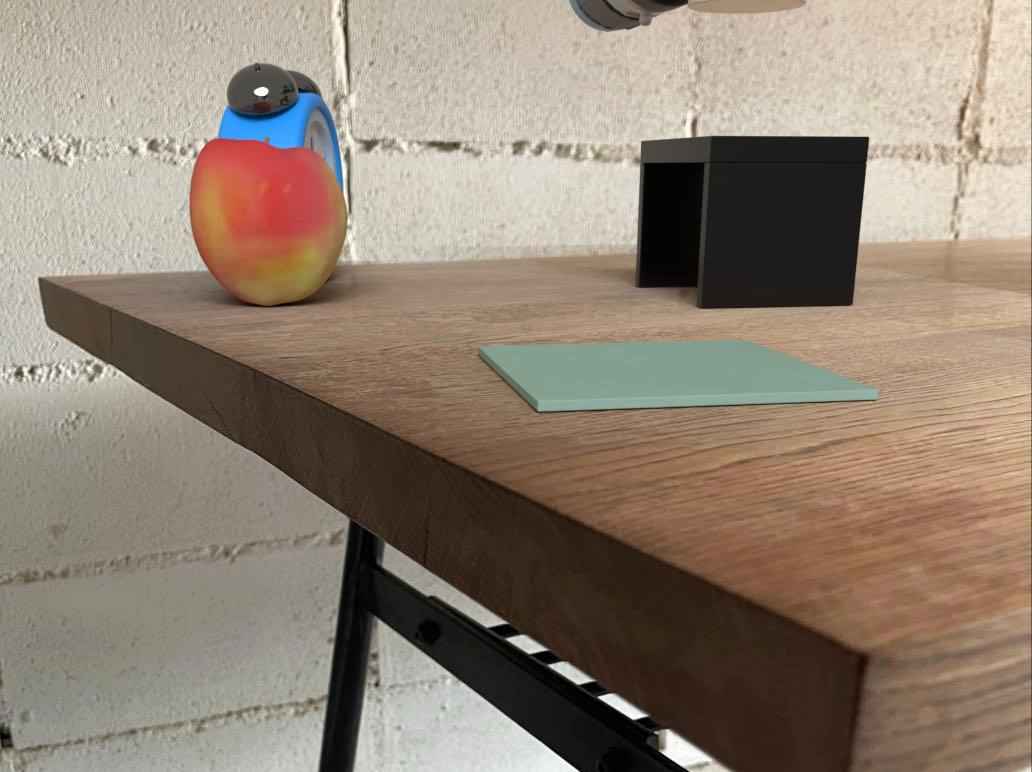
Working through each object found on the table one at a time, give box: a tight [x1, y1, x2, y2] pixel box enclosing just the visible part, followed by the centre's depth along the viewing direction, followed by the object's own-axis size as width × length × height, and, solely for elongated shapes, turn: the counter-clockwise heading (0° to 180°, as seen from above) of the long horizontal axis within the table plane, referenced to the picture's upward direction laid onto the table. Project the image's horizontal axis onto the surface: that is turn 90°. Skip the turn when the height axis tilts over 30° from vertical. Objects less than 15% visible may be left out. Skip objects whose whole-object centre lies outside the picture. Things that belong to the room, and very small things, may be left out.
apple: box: [188, 136, 349, 307], centre depth 70 cm, size 10×10×10 cm
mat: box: [477, 338, 880, 413], centre depth 47 cm, size 13×13×1 cm
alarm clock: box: [217, 62, 344, 193], centre depth 82 cm, size 13×6×15 cm, turn 174°
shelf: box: [634, 135, 870, 309], centre depth 75 cm, size 10×14×10 cm
